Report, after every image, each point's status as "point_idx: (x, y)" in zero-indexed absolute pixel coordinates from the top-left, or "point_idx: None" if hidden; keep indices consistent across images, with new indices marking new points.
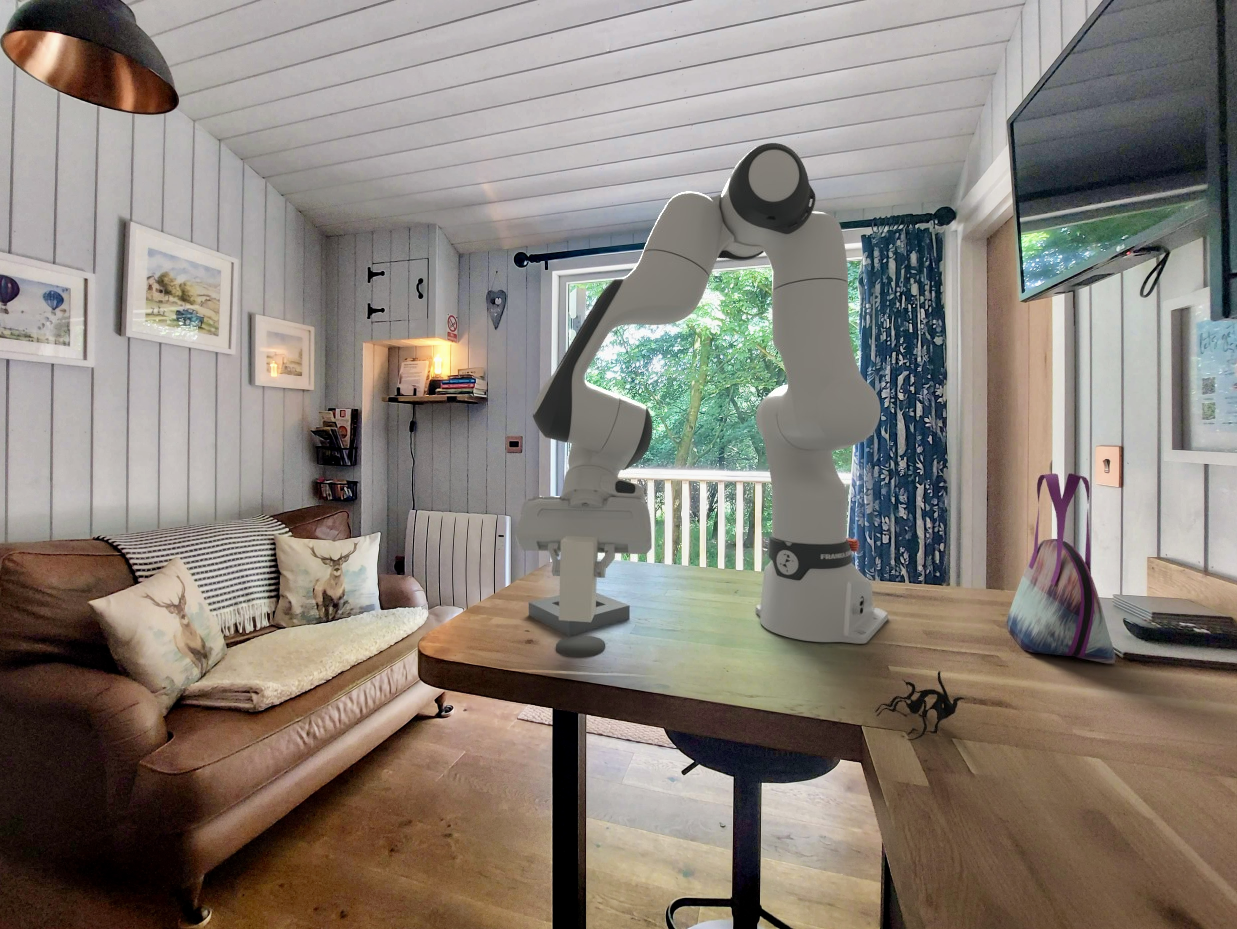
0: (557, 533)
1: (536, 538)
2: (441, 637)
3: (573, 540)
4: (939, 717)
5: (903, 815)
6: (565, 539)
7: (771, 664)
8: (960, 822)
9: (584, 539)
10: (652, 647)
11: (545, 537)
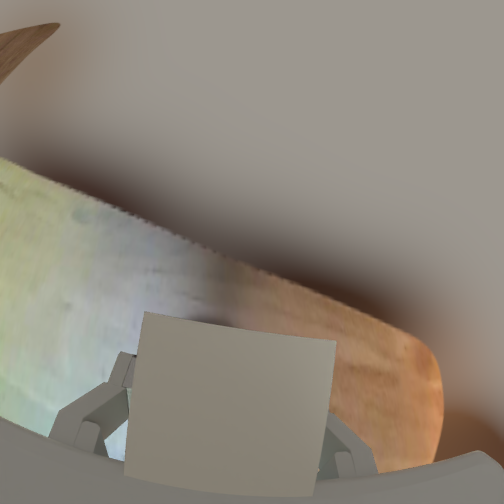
0: (364, 501)
1: (433, 463)
2: (435, 411)
3: (267, 362)
4: None
5: (22, 58)
6: (315, 388)
7: None
8: (3, 59)
9: (200, 407)
10: (64, 366)
11: (405, 472)
